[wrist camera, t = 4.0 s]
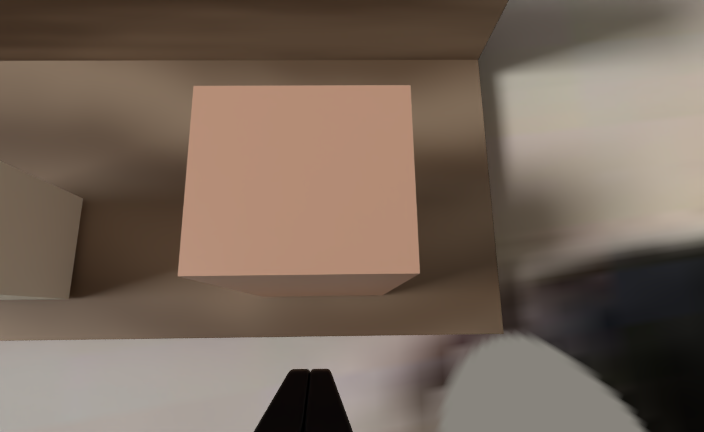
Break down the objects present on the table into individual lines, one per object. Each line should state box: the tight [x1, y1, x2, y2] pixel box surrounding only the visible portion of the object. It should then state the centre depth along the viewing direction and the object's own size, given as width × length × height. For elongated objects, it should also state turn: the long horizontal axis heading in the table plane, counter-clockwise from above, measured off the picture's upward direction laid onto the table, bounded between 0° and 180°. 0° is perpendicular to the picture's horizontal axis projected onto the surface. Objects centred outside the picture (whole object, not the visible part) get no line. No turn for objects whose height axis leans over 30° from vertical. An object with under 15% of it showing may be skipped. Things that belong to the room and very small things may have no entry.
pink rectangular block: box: [178, 85, 420, 297], centre depth 13 cm, size 4×5×8 cm
